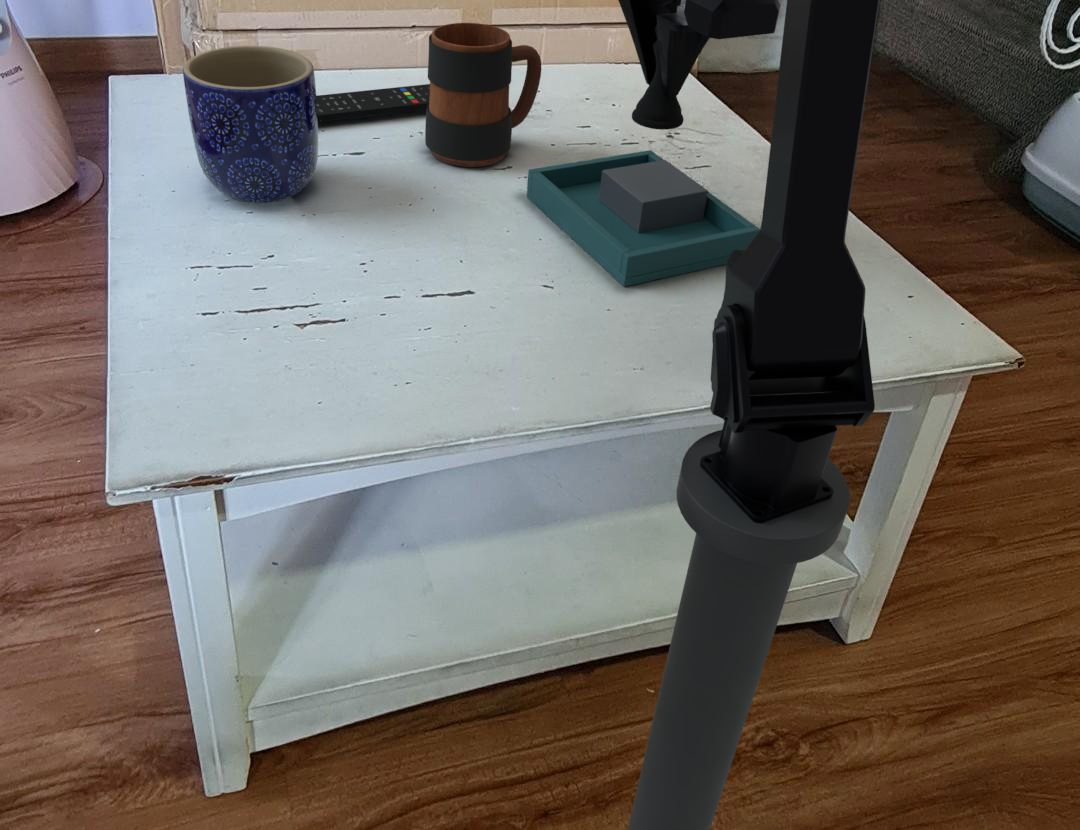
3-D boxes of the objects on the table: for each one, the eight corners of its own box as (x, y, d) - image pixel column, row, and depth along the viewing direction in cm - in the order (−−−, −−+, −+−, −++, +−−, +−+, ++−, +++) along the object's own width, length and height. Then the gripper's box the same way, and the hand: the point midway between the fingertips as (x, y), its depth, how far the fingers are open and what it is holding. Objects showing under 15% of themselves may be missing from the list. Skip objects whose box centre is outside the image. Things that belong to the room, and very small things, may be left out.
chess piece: (680, 133, 83) (699, 8, 77) (628, 126, 84) (643, 1, 78) (685, 114, 87) (703, -7, 81) (634, 107, 87) (649, -13, 81)
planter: (228, 224, 86) (211, 97, 79) (182, 176, 93) (162, 55, 86) (343, 197, 91) (336, 76, 85) (291, 153, 98) (281, 38, 91)
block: (703, 220, 91) (708, 190, 89) (638, 233, 88) (642, 202, 86) (660, 188, 96) (665, 159, 94) (598, 200, 93) (601, 169, 91)
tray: (754, 258, 88) (761, 229, 86) (624, 287, 82) (628, 257, 81) (646, 176, 100) (650, 149, 98) (526, 197, 94) (528, 169, 92)
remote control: (468, 110, 110) (468, 98, 109) (248, 136, 101) (247, 123, 100) (450, 93, 114) (450, 81, 113) (236, 116, 104) (235, 103, 104)
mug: (554, 158, 101) (564, 42, 94) (444, 174, 97) (446, 53, 90) (517, 127, 107) (524, 15, 100) (412, 140, 103) (411, 23, 95)
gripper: (859, -92, 71) (808, 119, 81) (707, -143, 84) (678, 45, 93) (734, -86, 67) (695, 137, 76) (593, -141, 79) (575, 57, 89)
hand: (661, 90), depth 84 cm, fingers closed on chess piece, 2 cm apart
